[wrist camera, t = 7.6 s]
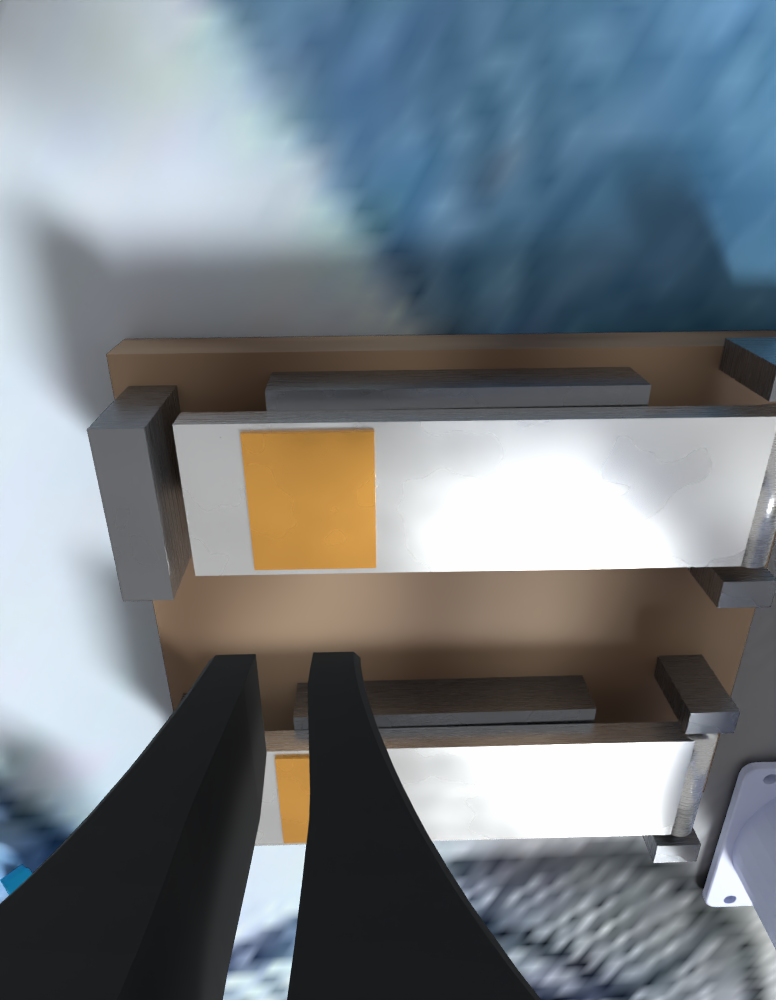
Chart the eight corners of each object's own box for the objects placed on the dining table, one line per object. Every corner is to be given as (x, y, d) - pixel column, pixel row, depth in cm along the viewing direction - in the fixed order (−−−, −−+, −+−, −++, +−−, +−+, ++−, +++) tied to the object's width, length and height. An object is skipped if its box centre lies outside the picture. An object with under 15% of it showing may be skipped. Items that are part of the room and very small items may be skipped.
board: (796, 330, 19) (829, 344, 18) (686, 759, 26) (704, 792, 25) (124, 339, 19) (106, 354, 17) (200, 773, 26) (191, 808, 25)
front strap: (793, 403, 17) (817, 418, 16) (754, 547, 19) (774, 568, 18) (181, 411, 17) (171, 426, 16) (203, 556, 18) (194, 577, 18)
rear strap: (708, 718, 21) (723, 743, 21) (684, 810, 23) (697, 836, 22) (227, 729, 21) (221, 755, 20) (240, 821, 23) (235, 849, 22)
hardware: (780, 337, 18) (855, 372, 15) (666, 797, 25) (703, 875, 22) (121, 346, 17) (76, 384, 15) (204, 811, 25) (184, 893, 22)
